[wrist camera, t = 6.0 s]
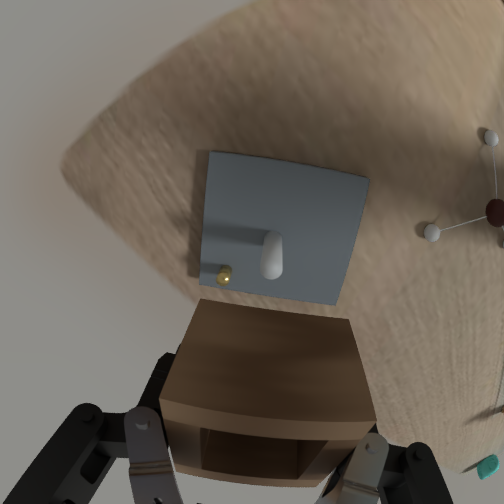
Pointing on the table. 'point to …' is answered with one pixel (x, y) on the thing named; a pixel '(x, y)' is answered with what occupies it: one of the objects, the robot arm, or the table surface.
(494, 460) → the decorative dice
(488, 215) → the molecular model
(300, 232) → the slate board
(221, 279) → the brass dowel
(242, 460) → the brown hollow open box
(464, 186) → the table surface
